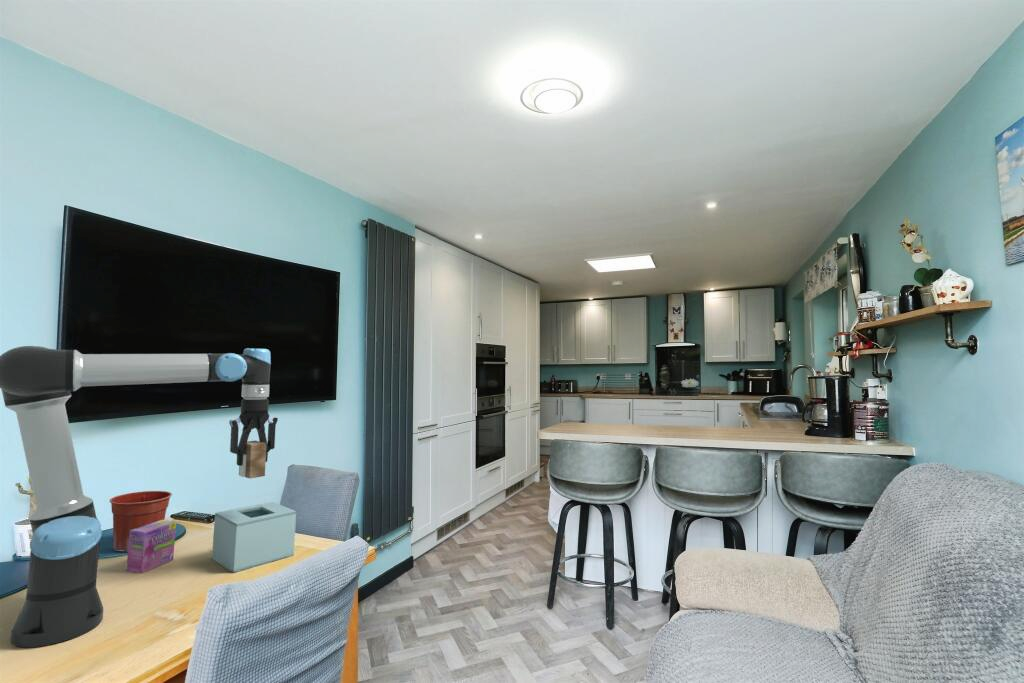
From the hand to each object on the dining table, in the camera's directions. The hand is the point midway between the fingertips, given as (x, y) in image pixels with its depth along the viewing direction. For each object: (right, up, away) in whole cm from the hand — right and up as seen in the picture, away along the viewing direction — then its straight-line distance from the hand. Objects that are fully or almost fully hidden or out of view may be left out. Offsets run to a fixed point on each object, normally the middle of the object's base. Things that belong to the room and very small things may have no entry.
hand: (251, 474), depth 146 cm
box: (-28, -27, -4) cm, 39 cm away
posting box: (-2, -28, +5) cm, 28 cm away
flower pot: (-44, -27, +11) cm, 52 cm away
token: (0, 0, 0) cm, 0 cm away
